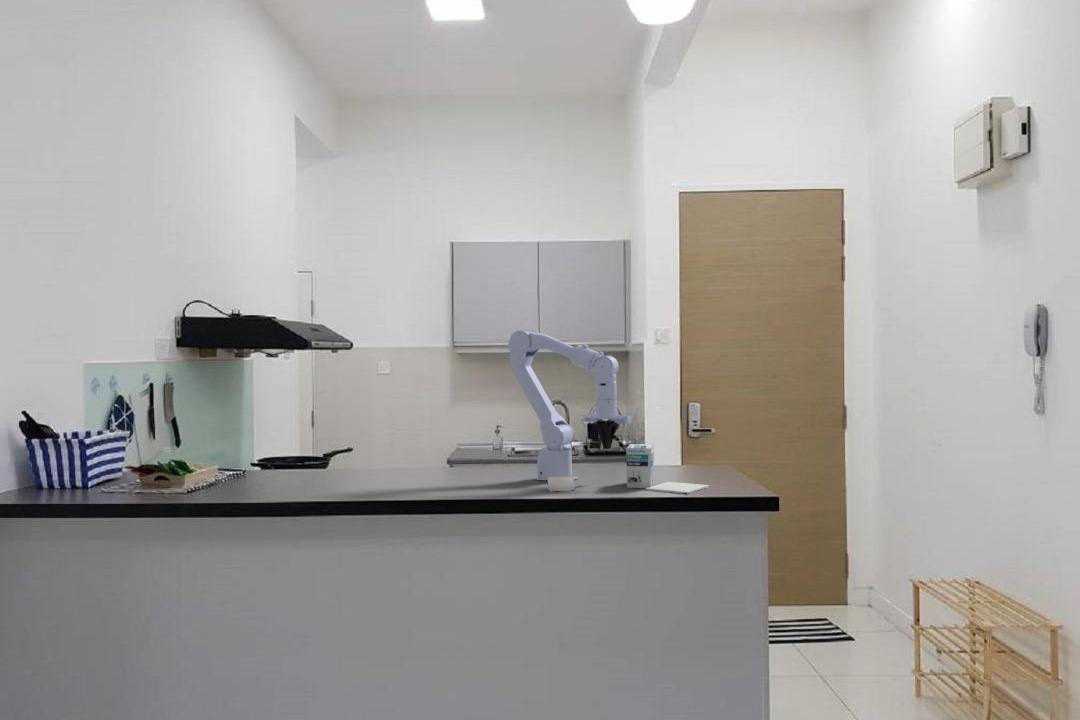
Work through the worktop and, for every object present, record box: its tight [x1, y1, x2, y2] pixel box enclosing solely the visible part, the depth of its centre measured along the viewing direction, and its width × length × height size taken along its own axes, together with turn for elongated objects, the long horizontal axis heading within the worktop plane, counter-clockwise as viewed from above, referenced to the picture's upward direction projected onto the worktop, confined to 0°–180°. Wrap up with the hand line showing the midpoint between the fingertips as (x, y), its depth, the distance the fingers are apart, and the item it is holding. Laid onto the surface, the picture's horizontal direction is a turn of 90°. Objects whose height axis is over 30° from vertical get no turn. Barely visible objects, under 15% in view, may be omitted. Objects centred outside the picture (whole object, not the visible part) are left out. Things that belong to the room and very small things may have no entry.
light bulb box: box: [625, 443, 655, 489], centre depth 238 cm, size 11×7×11 cm, turn 168°
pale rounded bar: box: [547, 475, 575, 492], centre depth 232 cm, size 7×7×4 cm
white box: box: [645, 481, 710, 495], centre depth 231 cm, size 12×13×1 cm
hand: (607, 448), depth 244 cm, fingers closed
